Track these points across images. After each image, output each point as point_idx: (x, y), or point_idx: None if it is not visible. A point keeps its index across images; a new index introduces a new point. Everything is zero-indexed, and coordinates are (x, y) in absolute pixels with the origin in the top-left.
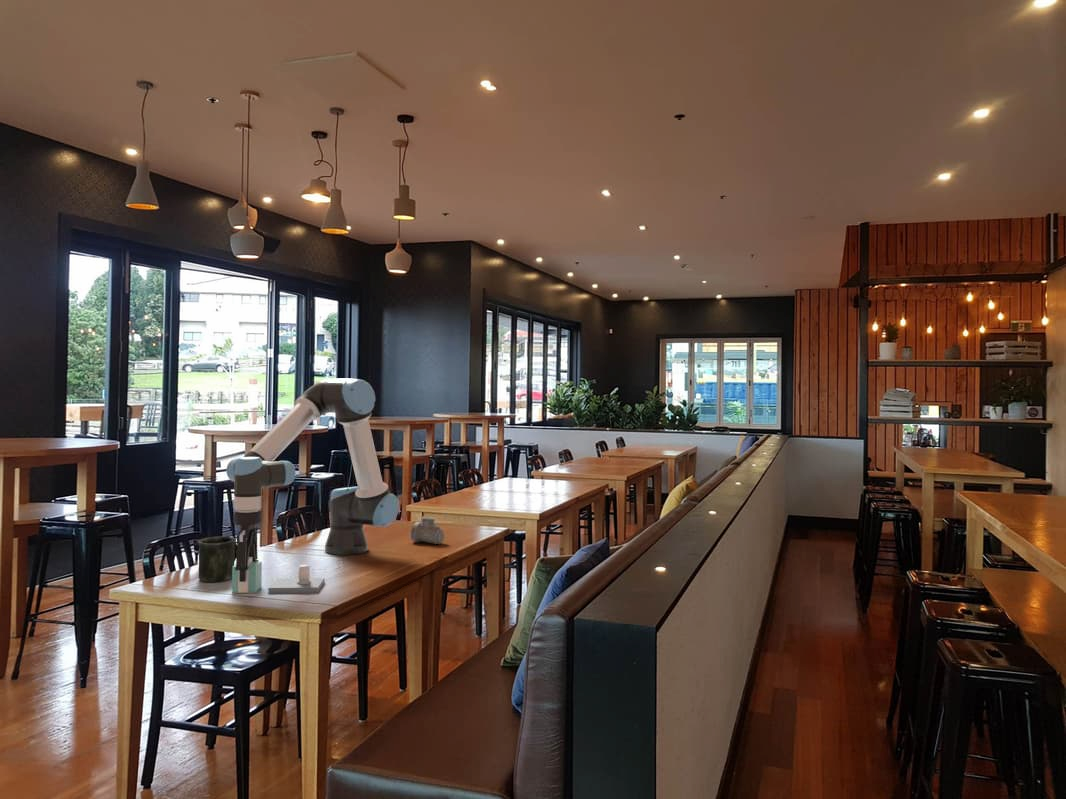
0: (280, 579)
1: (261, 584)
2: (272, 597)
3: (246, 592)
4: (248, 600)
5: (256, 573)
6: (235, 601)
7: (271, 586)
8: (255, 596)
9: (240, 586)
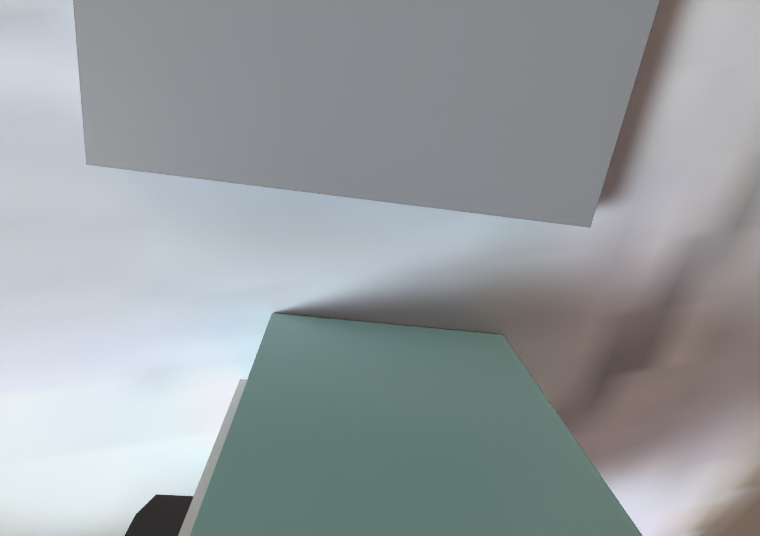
0: (149, 109)
1: (268, 324)
2: (744, 149)
3: None
4: (748, 353)
5: (566, 480)
6: (731, 439)
7: (527, 197)
8: (637, 316)
9: None
